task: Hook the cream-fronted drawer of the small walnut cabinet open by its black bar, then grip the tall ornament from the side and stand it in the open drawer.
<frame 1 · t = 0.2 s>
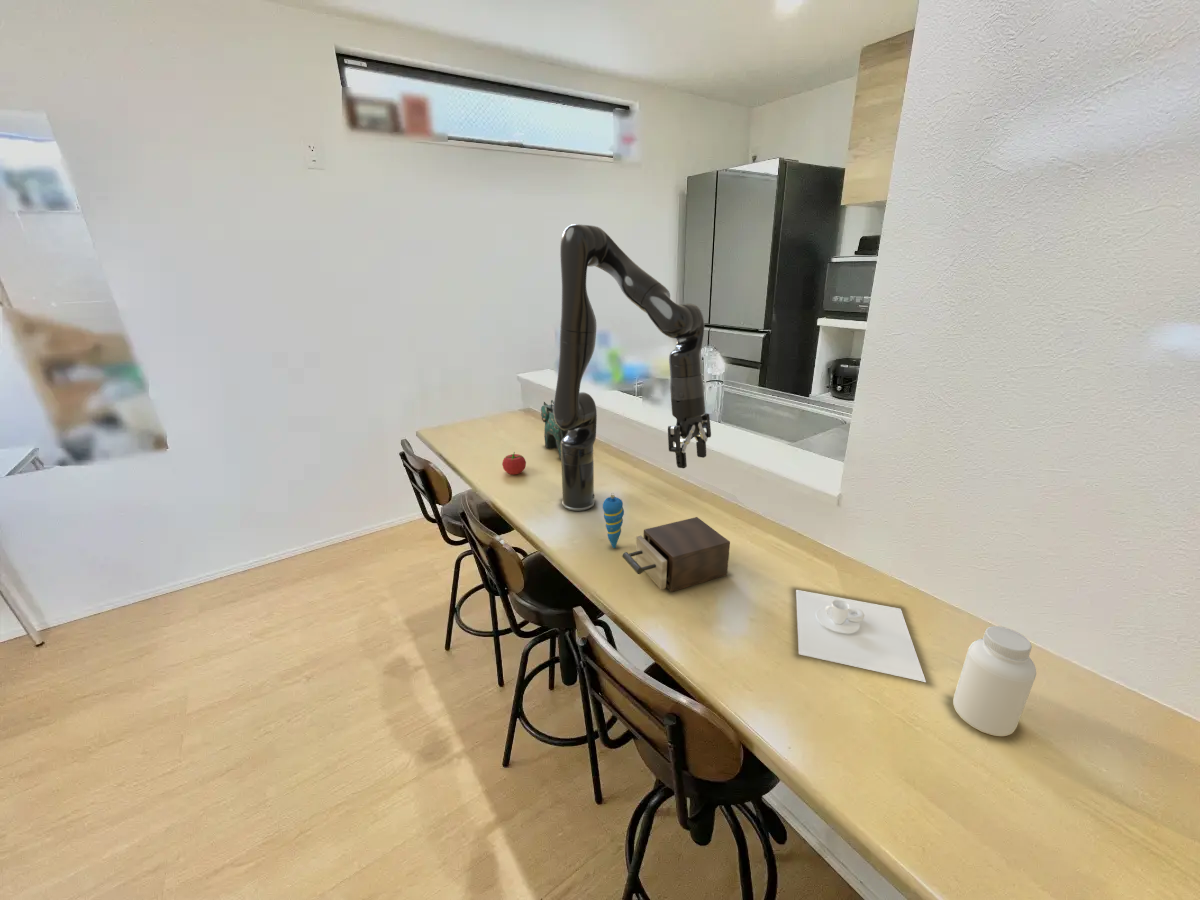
hand: (692, 462, 117), 22 cm above the breakfast bar, tool pointing down, fingers open, 8 cm apart
ornament: (613, 548, 123), on the breakfast bar
tomato: (514, 473, 168), on the breakfast bar
pill bottle: (982, 716, 76), on the breakfast bar
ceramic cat: (557, 452, 187), on the breakfast bar
cabinet: (683, 568, 114), on the breakfast bar
drawer: (665, 557, 111), point 4 cm above the breakfast bar, slide at 1.0 cm
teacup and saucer: (852, 630, 94), on the breakfast bar
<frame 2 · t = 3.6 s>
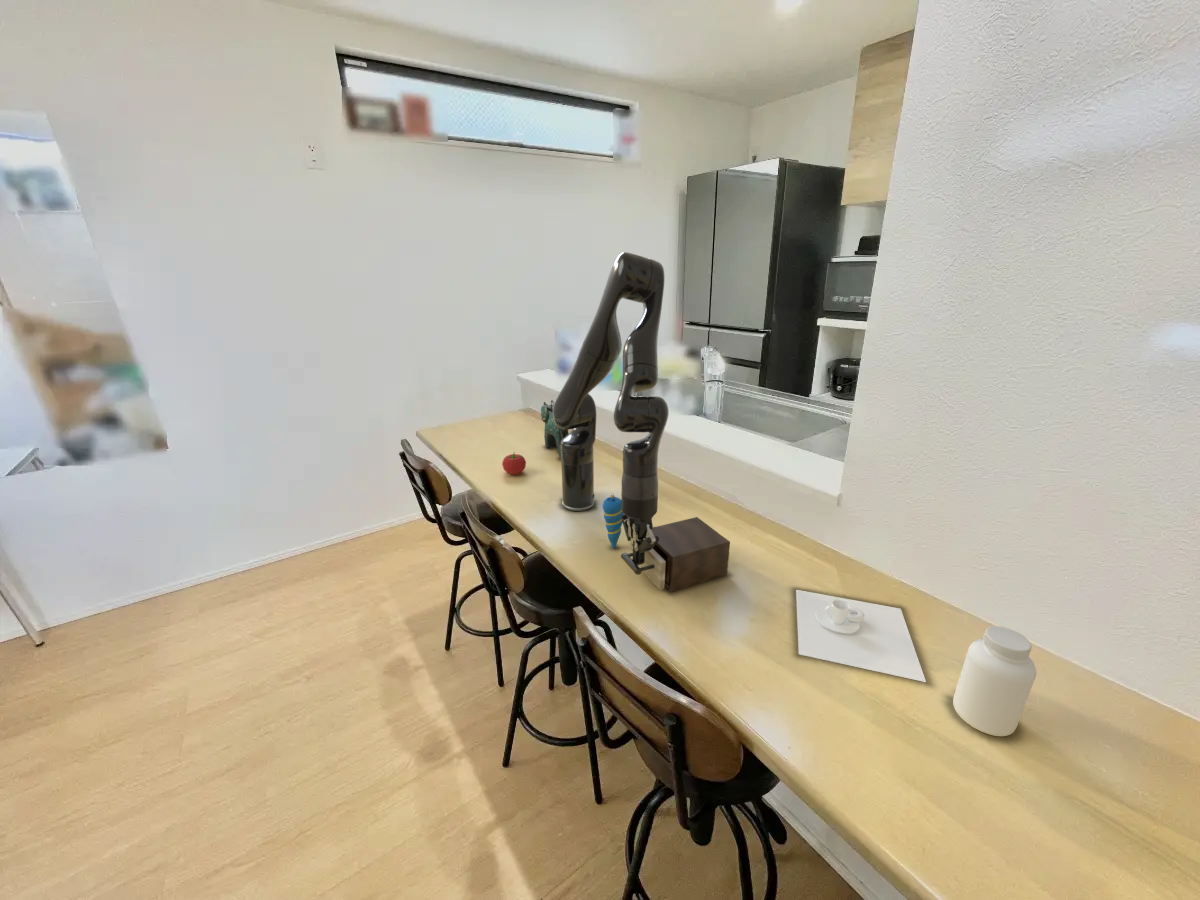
hand: (638, 562, 108), 5 cm above the breakfast bar, tool pointing down, fingers closed
drawer: (664, 557, 110), point 4 cm above the breakfast bar, slide at 1.4 cm, touching gripper
everything else where it was.
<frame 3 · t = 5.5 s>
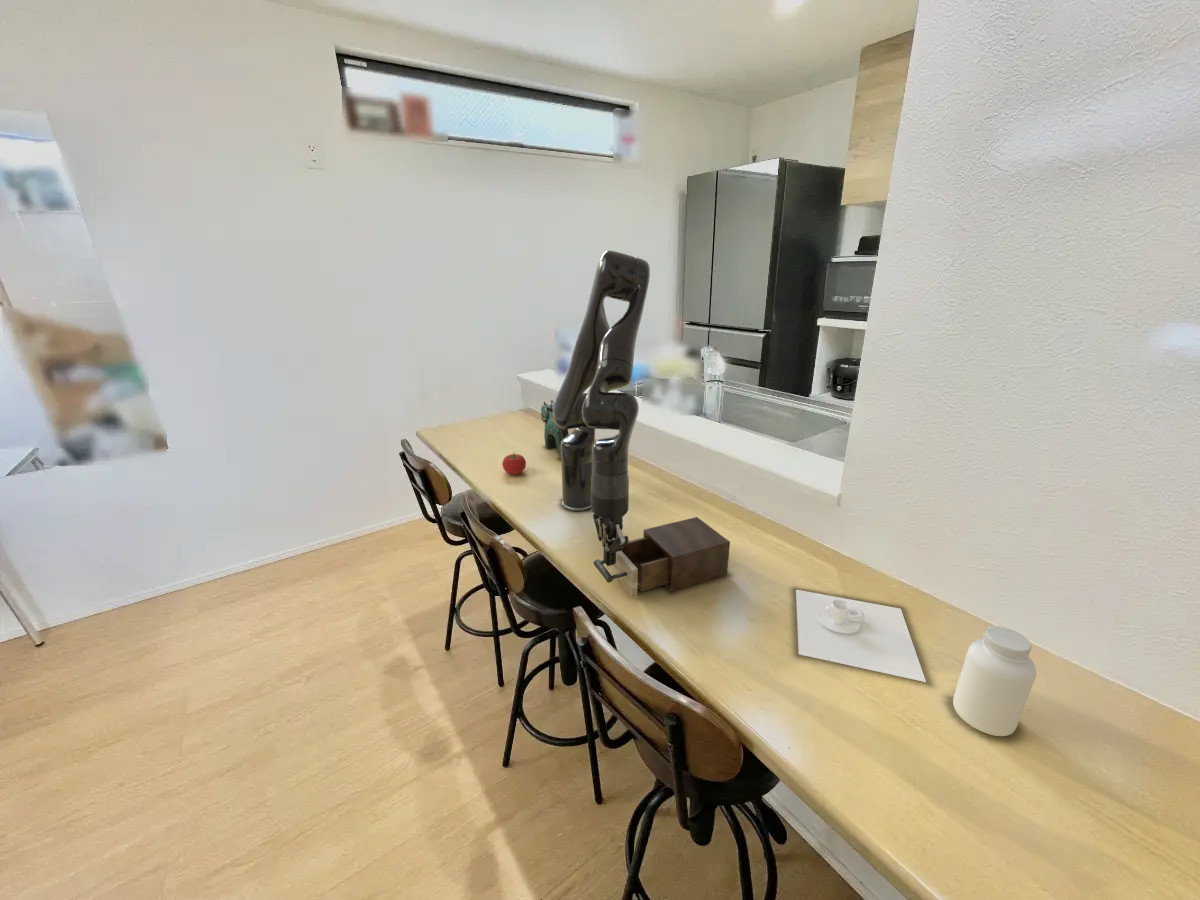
hand: (609, 563, 105), 7 cm above the breakfast bar, tool pointing down, fingers closed
drawer: (638, 564, 108), point 4 cm above the breakfast bar, slide at 8.0 cm
everything else where it was.
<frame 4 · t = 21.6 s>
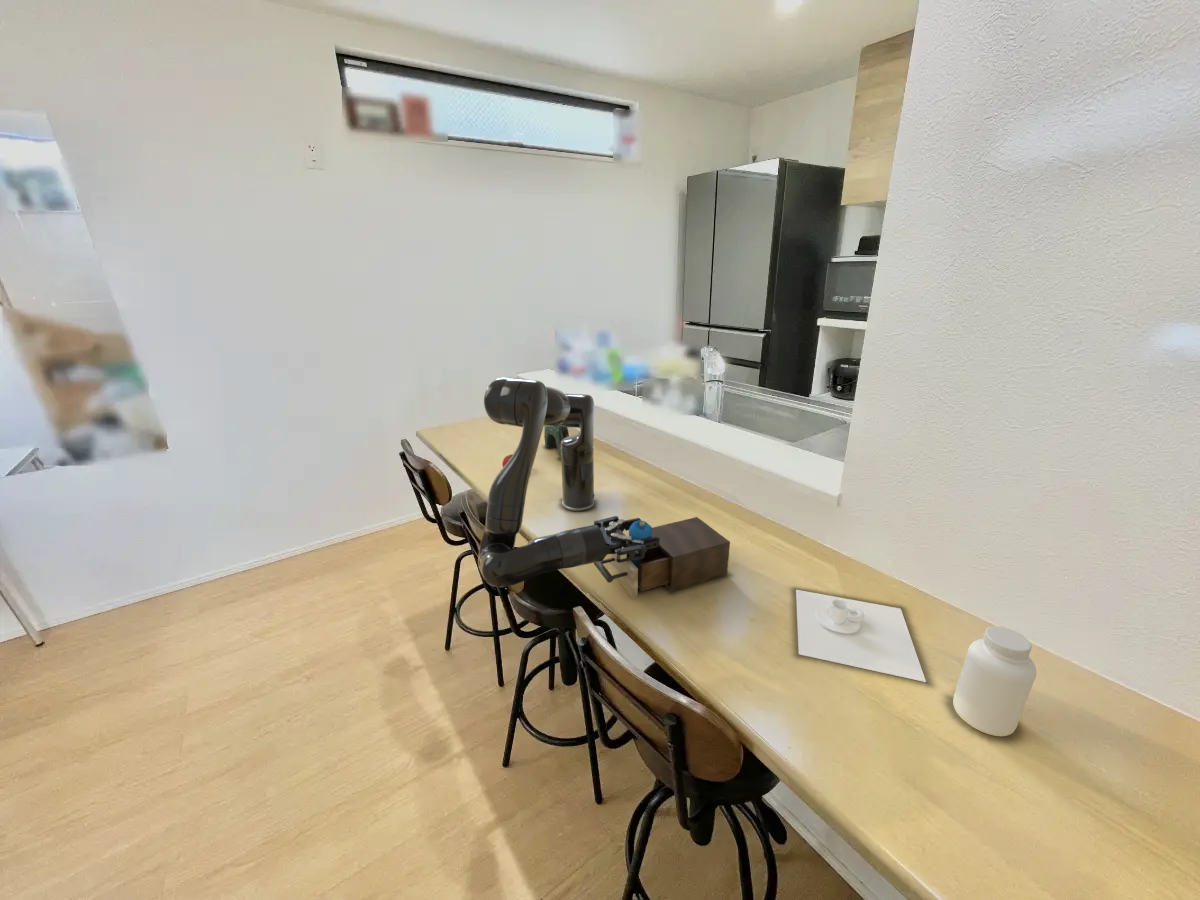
hand: (649, 531, 106), 12 cm above the breakfast bar, tool horizontal, fingers open, 8 cm apart
ornament: (632, 567, 111), point 2 cm above the breakfast bar, touching drawer, gripper
drawer: (638, 564, 108), point 4 cm above the breakfast bar, slide at 7.9 cm, touching ornament
everything else where it was.
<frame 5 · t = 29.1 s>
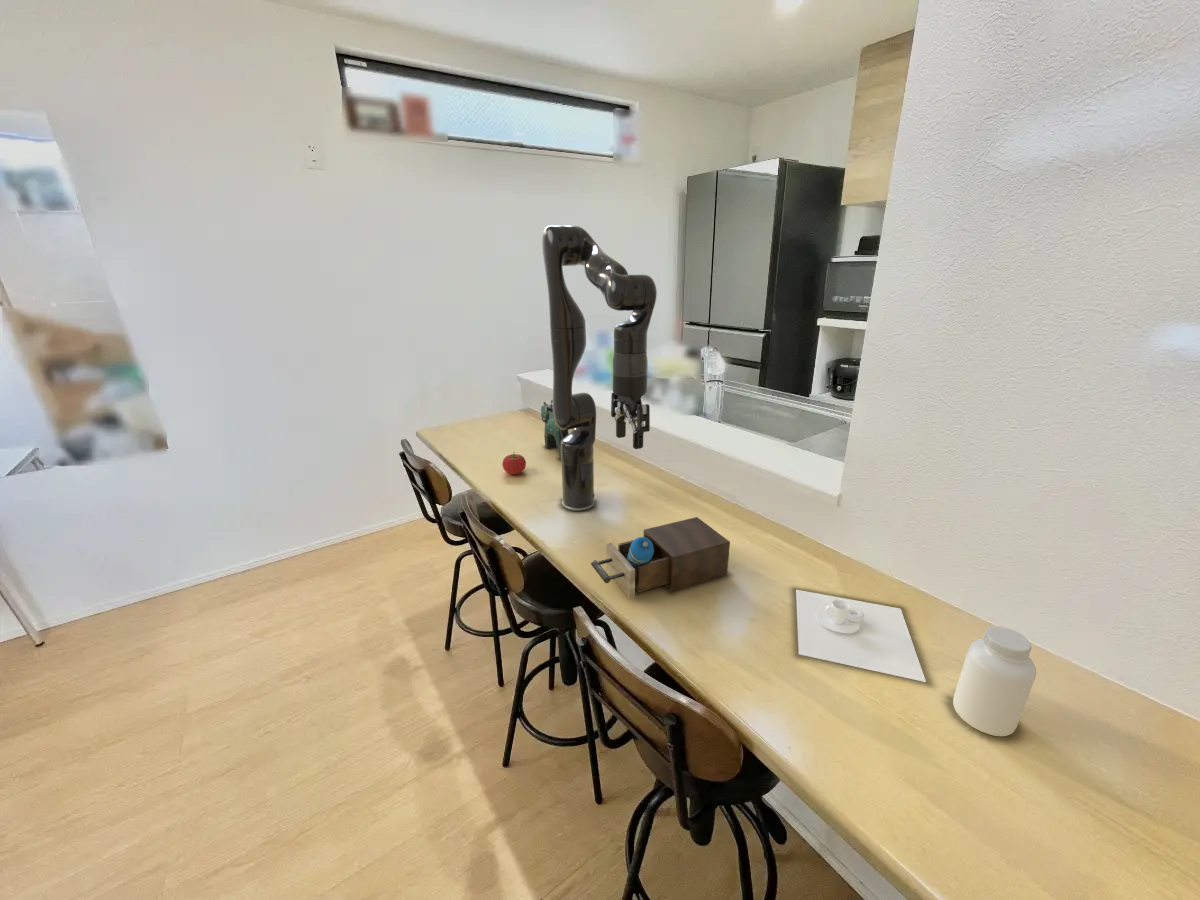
hand: (629, 442, 112), 28 cm above the breakfast bar, tool pointing down, fingers open, 8 cm apart
ornament: (628, 565, 111), point 2 cm above the breakfast bar, touching drawer
drawer: (635, 565, 108), point 4 cm above the breakfast bar, slide at 8.6 cm, touching ornament
everything else where it was.
at the end: drawer slide at 8.6 cm; ornament inside the target area in the drawer (5.0 cm from its centre), point 2.4 cm above the cabinet's base; the gripper is holding nothing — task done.
